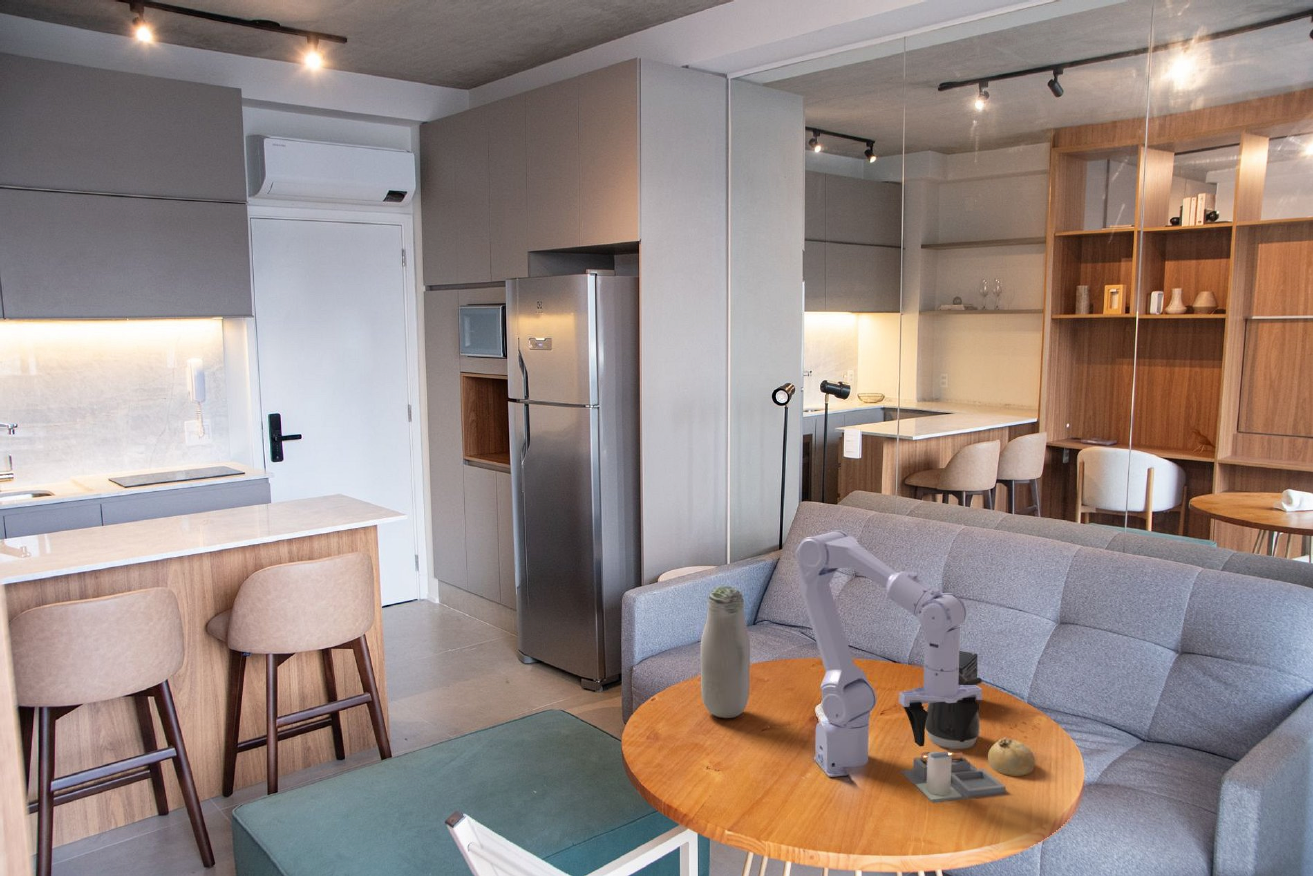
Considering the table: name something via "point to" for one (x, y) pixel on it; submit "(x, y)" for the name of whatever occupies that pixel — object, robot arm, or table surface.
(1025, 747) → the onion
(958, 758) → the plunger
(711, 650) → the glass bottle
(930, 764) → the disc
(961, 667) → the small box
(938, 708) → the pump dispenser
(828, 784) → the table surface
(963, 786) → the housing
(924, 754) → the plunger
